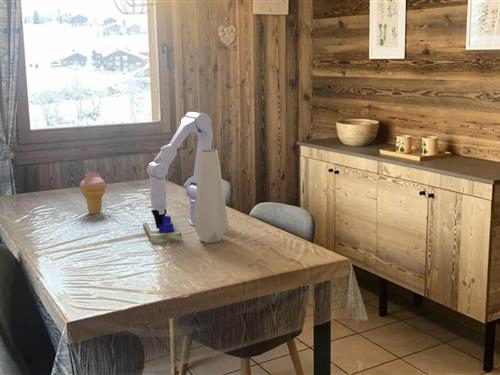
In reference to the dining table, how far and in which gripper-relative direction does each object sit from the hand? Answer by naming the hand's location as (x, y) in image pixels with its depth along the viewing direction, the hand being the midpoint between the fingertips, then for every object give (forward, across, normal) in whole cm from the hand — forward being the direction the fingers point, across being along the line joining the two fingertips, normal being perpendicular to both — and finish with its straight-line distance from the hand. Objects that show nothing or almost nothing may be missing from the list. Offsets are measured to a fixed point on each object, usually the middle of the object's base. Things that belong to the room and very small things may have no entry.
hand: (159, 228), depth 233 cm
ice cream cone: (+1, -36, -22) cm, 43 cm away
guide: (+1, +4, 0) cm, 4 cm away
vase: (+1, +18, +16) cm, 24 cm away
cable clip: (+1, +7, +1) cm, 8 cm away
